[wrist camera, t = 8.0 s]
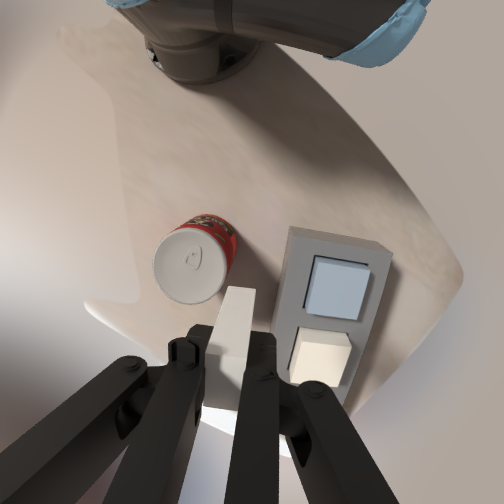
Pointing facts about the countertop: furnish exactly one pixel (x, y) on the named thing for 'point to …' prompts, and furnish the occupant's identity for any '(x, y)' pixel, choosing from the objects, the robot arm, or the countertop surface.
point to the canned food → (195, 259)
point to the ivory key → (319, 356)
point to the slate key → (336, 287)
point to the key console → (294, 314)
